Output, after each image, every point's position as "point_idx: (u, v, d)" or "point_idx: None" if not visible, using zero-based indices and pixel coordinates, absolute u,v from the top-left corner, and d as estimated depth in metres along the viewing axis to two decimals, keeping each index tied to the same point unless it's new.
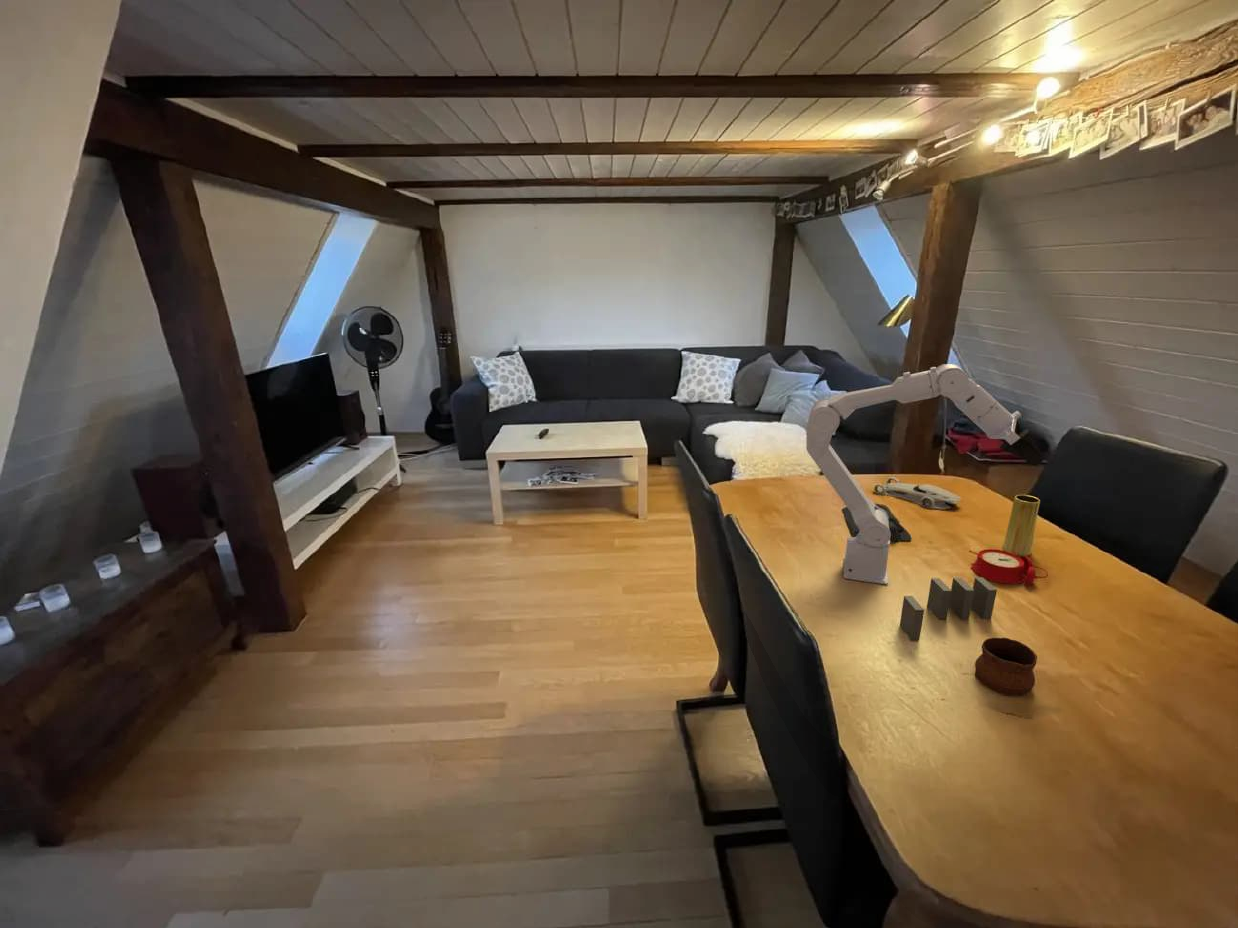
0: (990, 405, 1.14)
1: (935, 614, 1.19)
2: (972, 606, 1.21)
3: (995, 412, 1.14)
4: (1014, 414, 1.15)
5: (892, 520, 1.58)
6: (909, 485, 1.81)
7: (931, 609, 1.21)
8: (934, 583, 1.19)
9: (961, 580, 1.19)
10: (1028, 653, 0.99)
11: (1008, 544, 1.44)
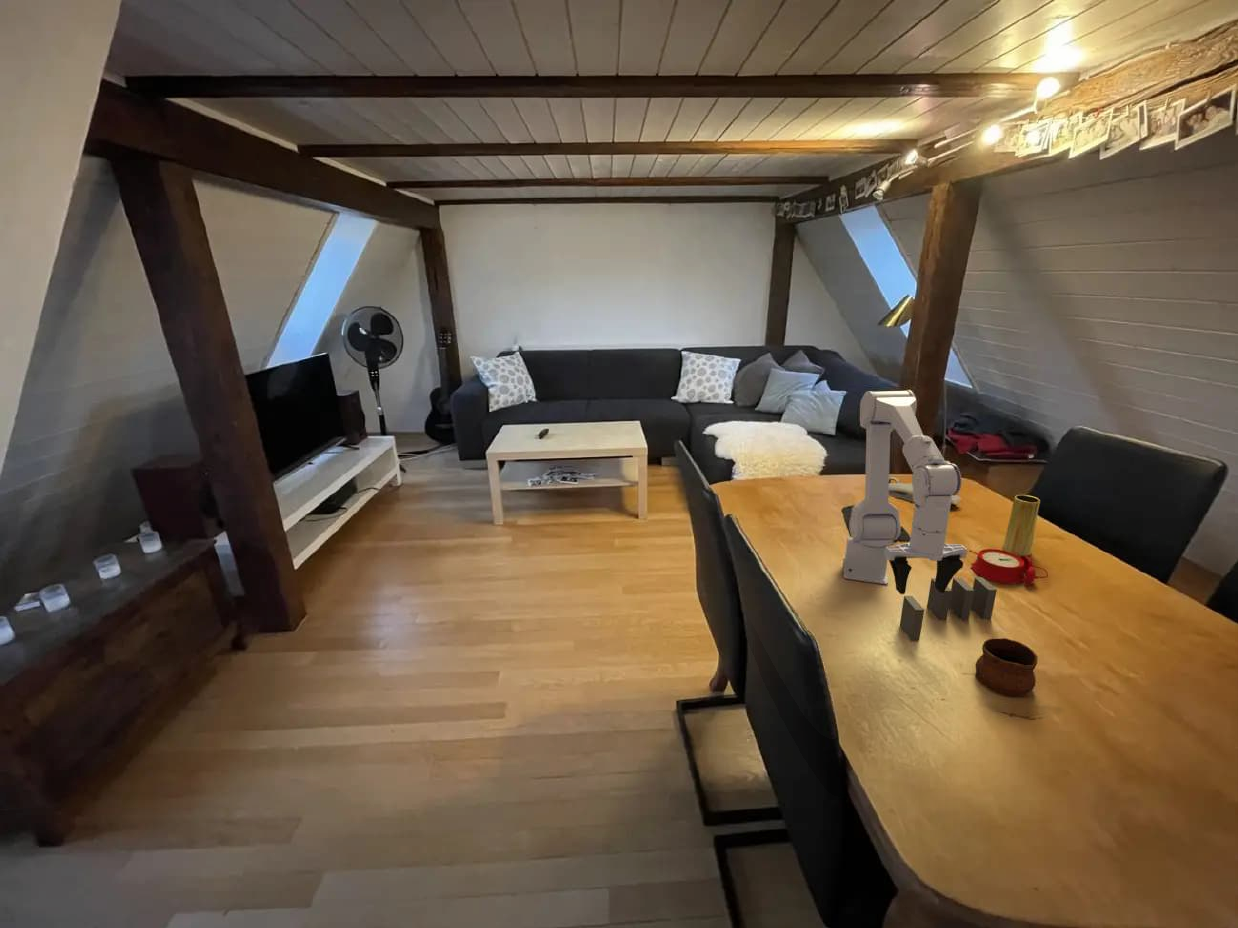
0: (920, 526, 1.05)
1: (935, 614, 1.19)
2: (972, 606, 1.21)
3: (918, 534, 1.06)
4: (934, 555, 1.05)
5: None
6: (909, 485, 1.80)
7: (931, 609, 1.21)
8: (934, 583, 1.19)
9: (961, 580, 1.19)
10: (1029, 653, 0.99)
11: (1008, 544, 1.44)
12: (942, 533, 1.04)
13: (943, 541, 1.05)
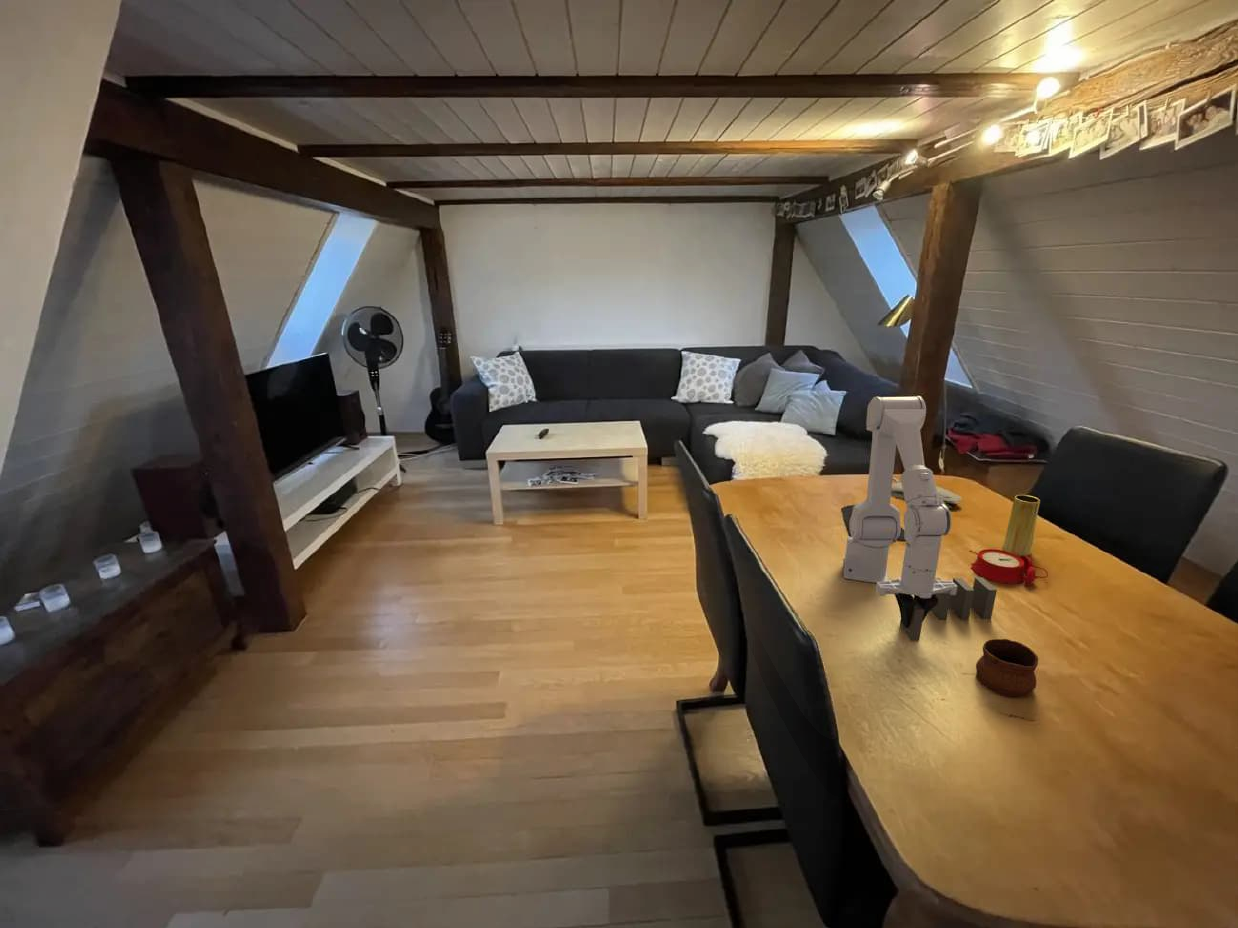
0: (911, 564, 1.08)
1: (935, 614, 1.19)
2: (972, 606, 1.21)
3: (908, 572, 1.09)
4: (924, 592, 1.08)
5: None
6: None
7: (931, 609, 1.21)
8: None
9: (961, 580, 1.19)
10: (1029, 654, 0.98)
11: (1008, 544, 1.44)
12: (932, 571, 1.07)
13: (933, 579, 1.08)
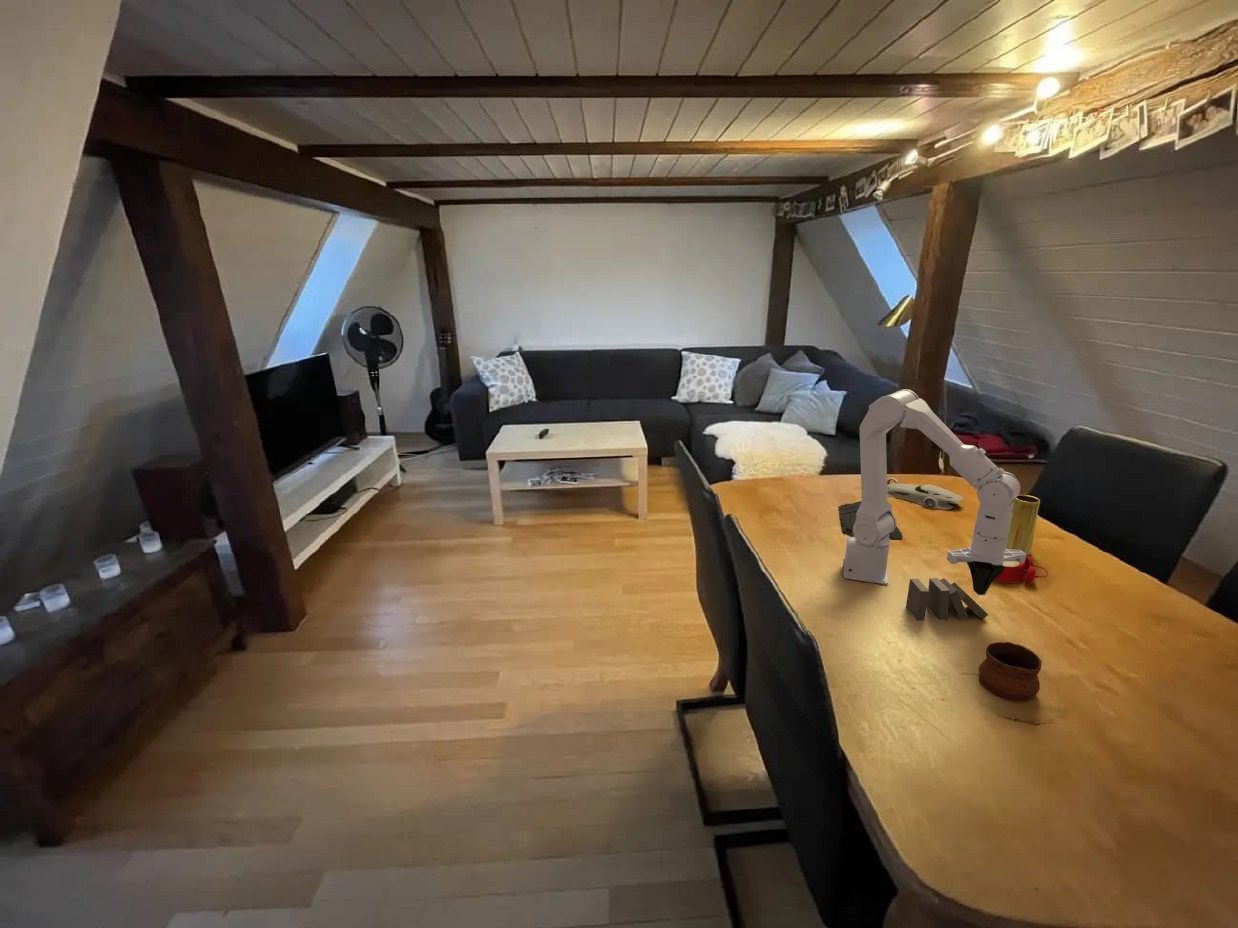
0: (996, 536, 1.11)
1: (935, 614, 1.19)
2: None
3: (980, 540, 1.13)
4: (996, 560, 1.13)
5: None
6: (910, 485, 1.80)
7: (931, 609, 1.21)
8: (932, 583, 1.19)
9: (944, 581, 1.20)
10: (1032, 657, 0.98)
11: (1008, 544, 1.44)
12: (1004, 539, 1.12)
13: (1004, 547, 1.13)
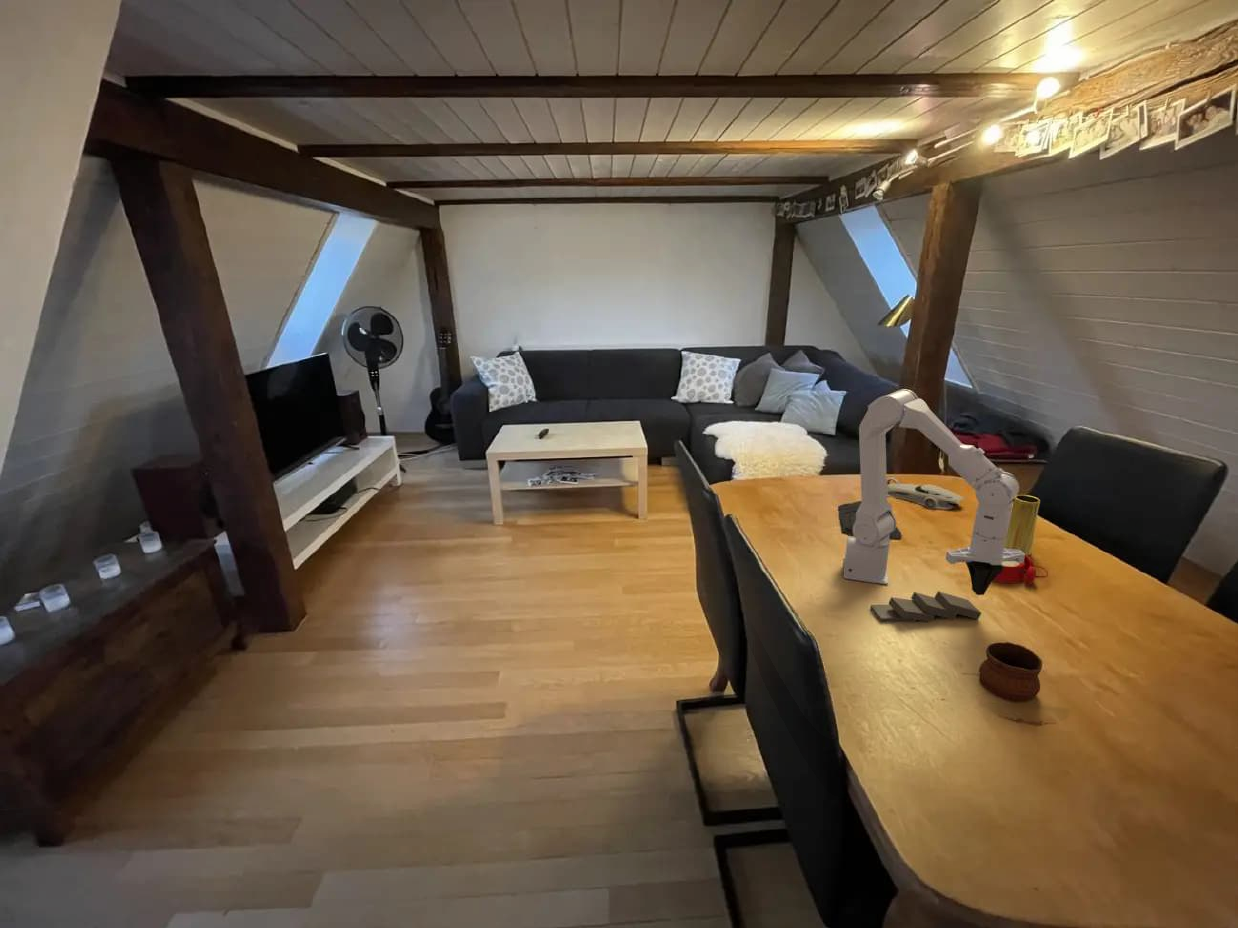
0: (995, 536, 1.11)
1: None
2: None
3: (979, 540, 1.13)
4: (994, 560, 1.13)
5: None
6: (910, 486, 1.80)
7: None
8: None
9: (915, 596, 1.21)
10: (1033, 657, 0.97)
11: (1008, 544, 1.44)
12: (1002, 539, 1.12)
13: (1003, 547, 1.13)
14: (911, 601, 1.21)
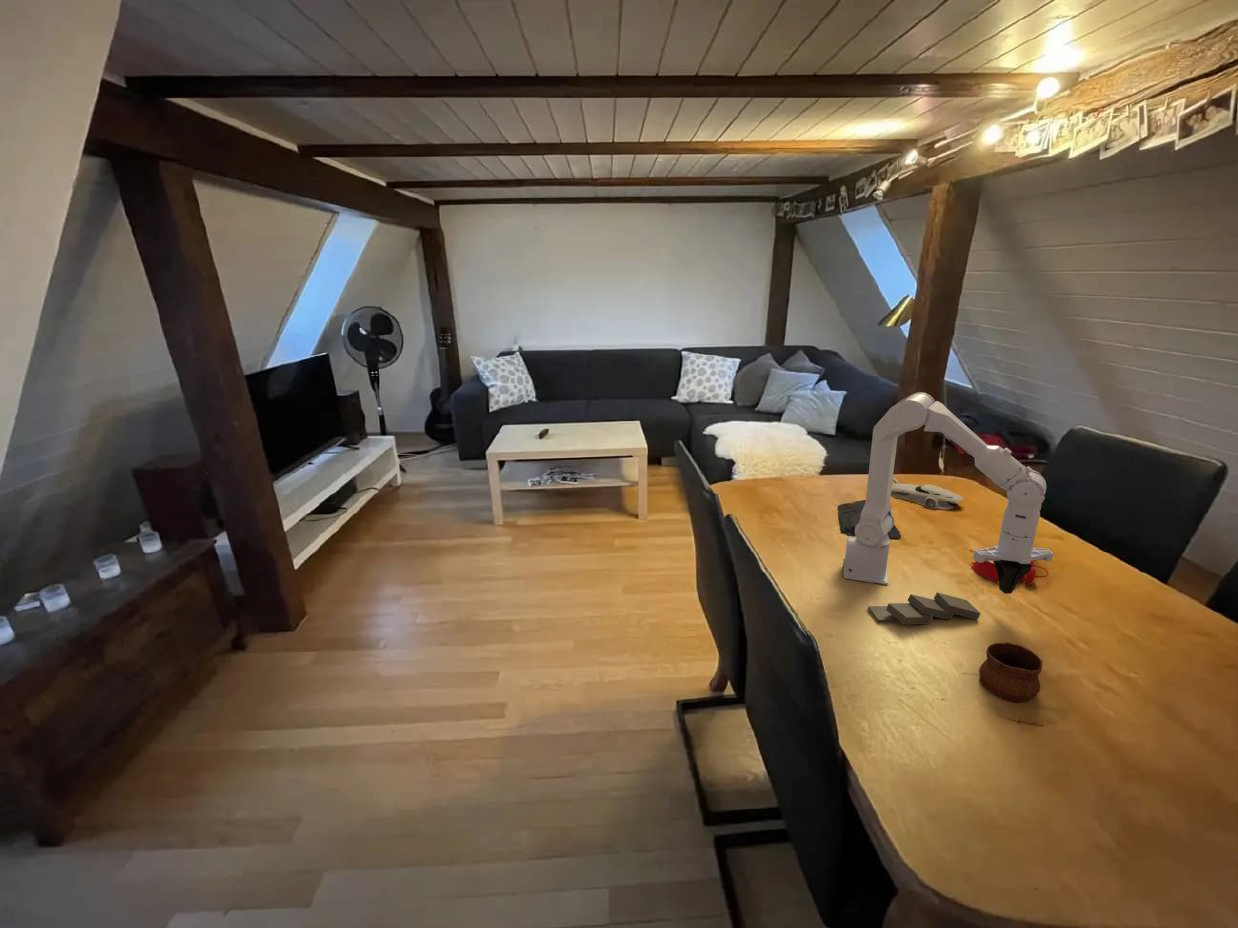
0: (1026, 534, 1.11)
1: None
2: None
3: (1007, 539, 1.13)
4: (1023, 558, 1.13)
5: None
6: (910, 486, 1.80)
7: None
8: None
9: (912, 598, 1.20)
10: (1032, 657, 0.97)
11: None
12: (1031, 538, 1.12)
13: (1032, 545, 1.13)
14: (907, 604, 1.20)
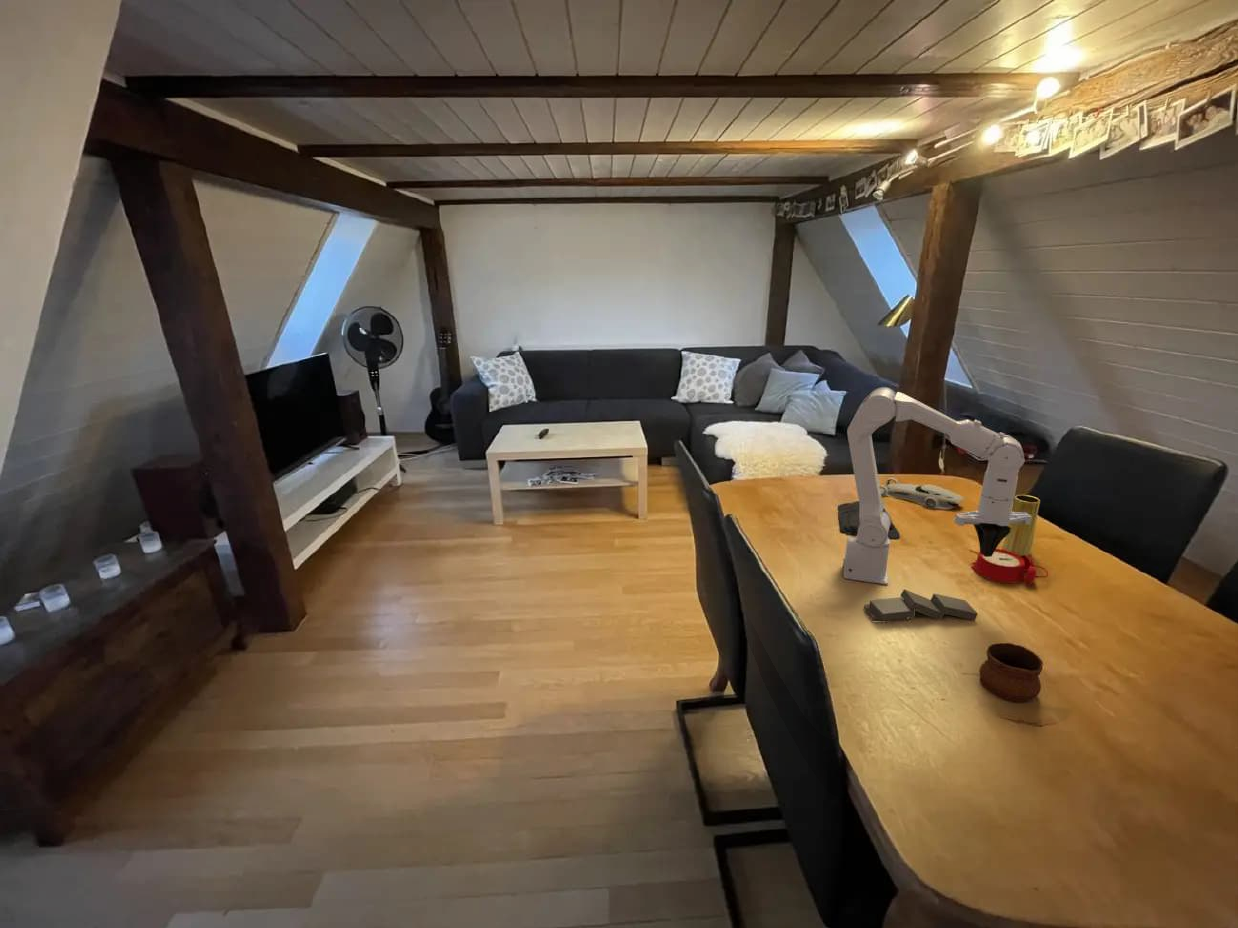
0: (1007, 497, 1.15)
1: None
2: None
3: (987, 502, 1.17)
4: (1002, 521, 1.16)
5: None
6: (910, 486, 1.80)
7: None
8: None
9: (905, 593, 1.21)
10: (1033, 658, 0.97)
11: (1008, 544, 1.44)
12: (1010, 501, 1.16)
13: (1010, 508, 1.17)
14: (891, 599, 1.21)
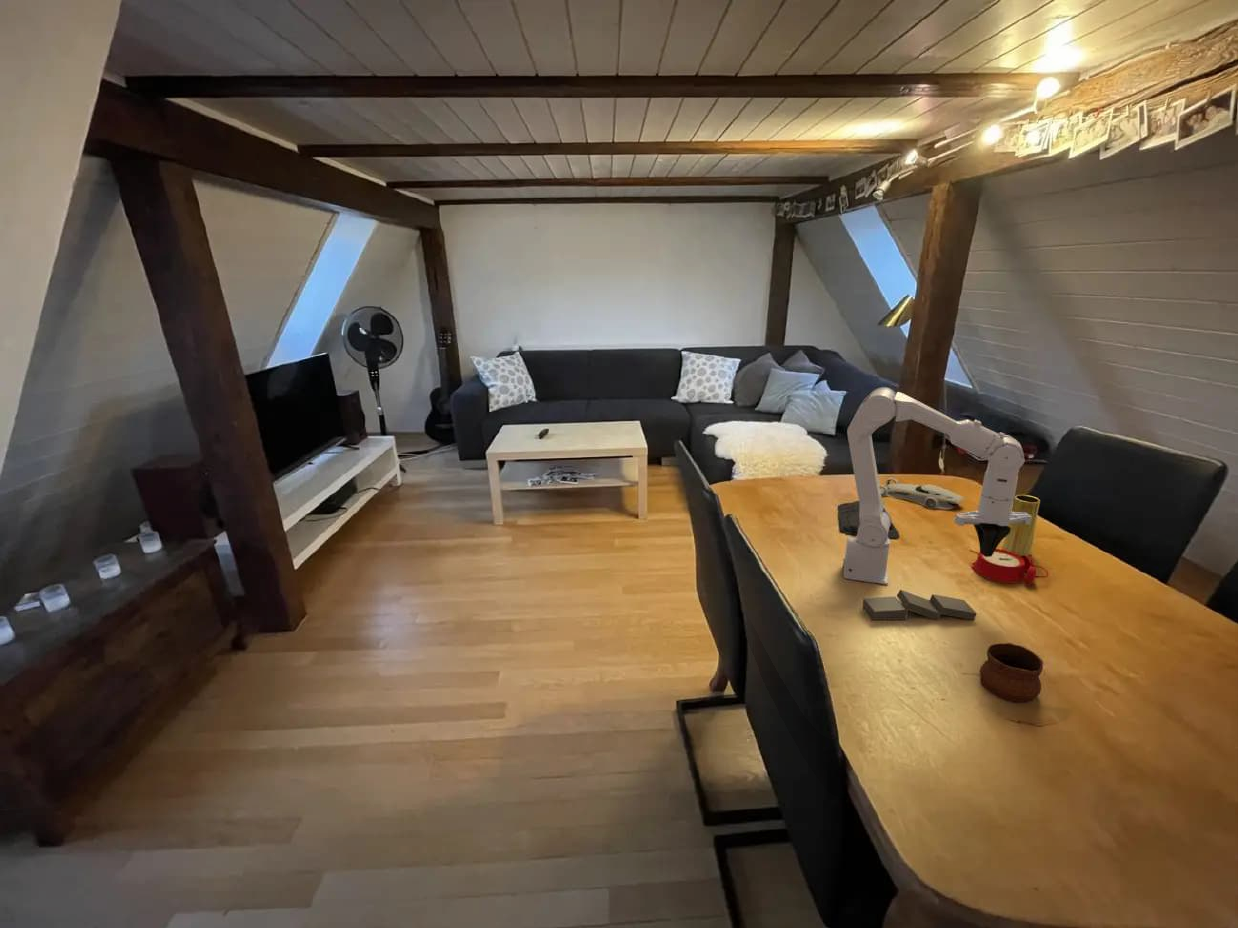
0: (1007, 497, 1.15)
1: None
2: None
3: (987, 502, 1.17)
4: (1002, 521, 1.16)
5: None
6: (910, 486, 1.80)
7: None
8: None
9: (901, 594, 1.21)
10: (1033, 658, 0.97)
11: (1008, 544, 1.44)
12: (1010, 501, 1.16)
13: (1010, 508, 1.17)
14: (885, 598, 1.22)
